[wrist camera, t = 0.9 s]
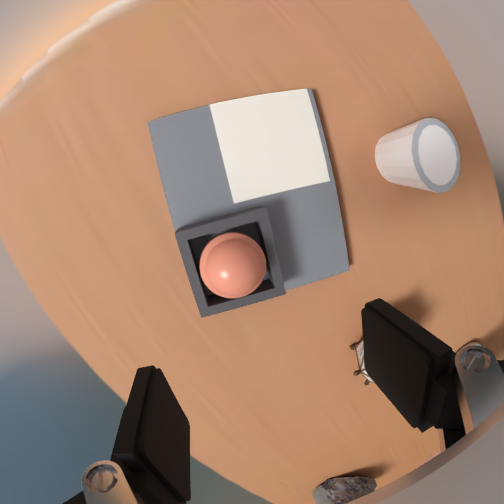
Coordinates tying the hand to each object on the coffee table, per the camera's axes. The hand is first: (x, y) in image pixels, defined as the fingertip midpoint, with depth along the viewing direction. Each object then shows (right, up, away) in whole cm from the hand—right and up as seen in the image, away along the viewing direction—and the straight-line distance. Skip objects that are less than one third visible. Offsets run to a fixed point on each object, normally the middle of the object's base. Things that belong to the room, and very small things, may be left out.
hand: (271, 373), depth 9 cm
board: (0, +9, +16) cm, 19 cm away
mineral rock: (+17, -41, +31) cm, 54 cm away
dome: (-2, +3, +15) cm, 15 cm away
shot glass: (+15, +14, +18) cm, 27 cm away
